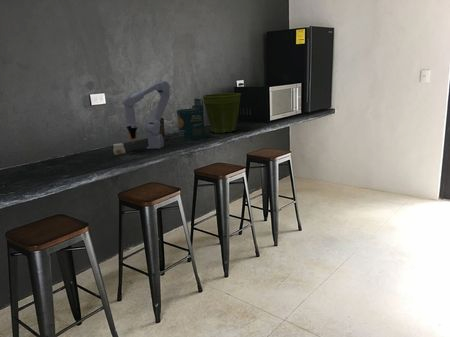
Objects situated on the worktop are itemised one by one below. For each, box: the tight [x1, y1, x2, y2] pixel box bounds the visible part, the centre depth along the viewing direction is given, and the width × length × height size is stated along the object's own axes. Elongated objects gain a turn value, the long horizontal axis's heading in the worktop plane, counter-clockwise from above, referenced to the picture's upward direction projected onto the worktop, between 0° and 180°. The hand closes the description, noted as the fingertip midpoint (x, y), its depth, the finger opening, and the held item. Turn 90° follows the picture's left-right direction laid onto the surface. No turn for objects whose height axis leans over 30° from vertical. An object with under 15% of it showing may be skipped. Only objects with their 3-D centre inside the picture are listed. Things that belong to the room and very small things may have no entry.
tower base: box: [112, 148, 126, 156], centre depth 239 cm, size 6×6×3 cm
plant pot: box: [202, 92, 242, 134], centre depth 294 cm, size 30×30×29 cm
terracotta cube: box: [127, 131, 138, 142], centre depth 240 cm, size 4×4×5 cm
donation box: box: [176, 97, 206, 142], centre depth 272 cm, size 16×16×28 cm
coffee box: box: [159, 117, 166, 142], centre depth 271 cm, size 9×6×16 cm
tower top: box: [113, 142, 125, 150], centre depth 238 cm, size 6×6×3 cm
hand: (132, 137), depth 241 cm, fingers closed on terracotta cube, 4 cm apart
